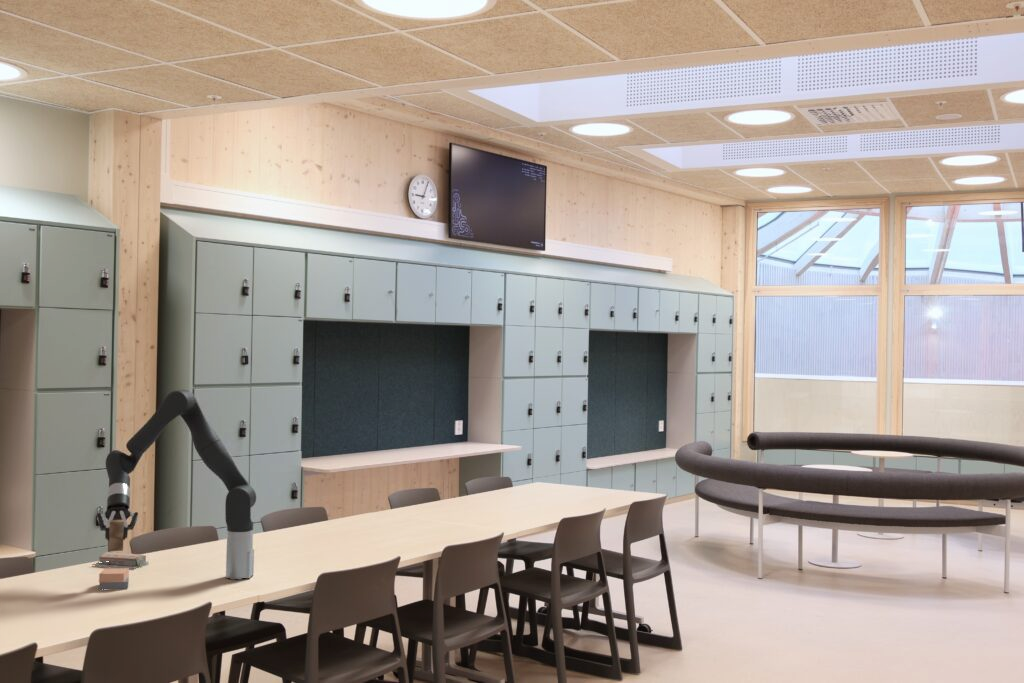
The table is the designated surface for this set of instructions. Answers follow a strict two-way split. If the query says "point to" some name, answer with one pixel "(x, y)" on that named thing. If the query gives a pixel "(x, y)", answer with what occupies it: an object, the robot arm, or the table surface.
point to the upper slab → (114, 575)
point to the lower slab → (114, 585)
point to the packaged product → (122, 560)
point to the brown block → (116, 535)
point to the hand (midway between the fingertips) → (116, 538)
